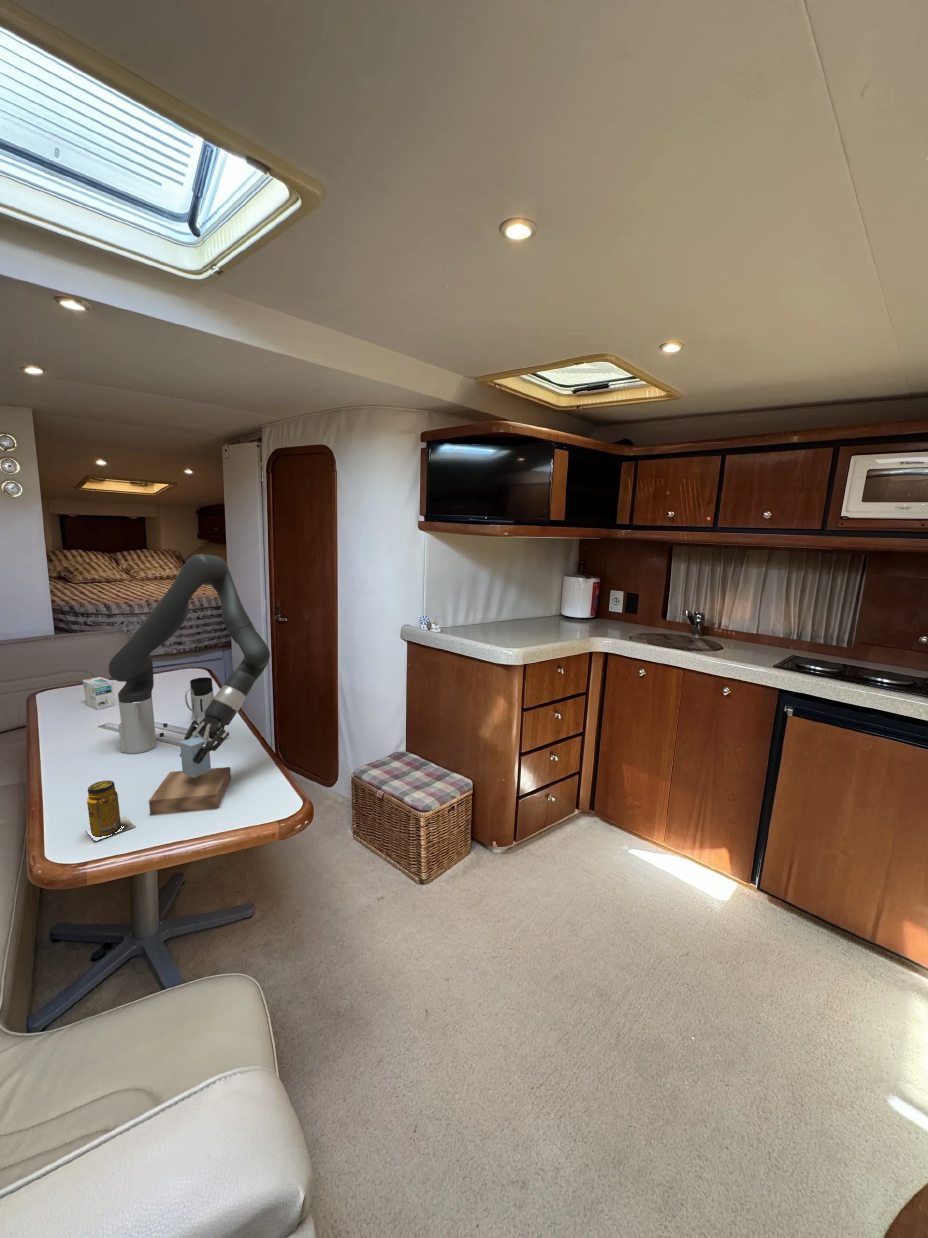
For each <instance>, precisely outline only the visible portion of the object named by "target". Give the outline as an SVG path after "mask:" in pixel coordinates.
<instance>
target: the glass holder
mask: <svg viewBox="0 0 928 1238" xmlns="http://www.w3.org/2000/svg"><path fill="white" fill-rule="evenodd" d="M189 683H190V684H189V686H190V688H188V689H186V691H185V693H184V701H185V704H186V705H185V706H186V707H187V709H188V710H189V711H191V714H192V715H191V721H192V720H193V721H194V720H196V721H197V722H201V720H203V719H204V718H205V714H204V712H205V710H206V709H207V707H208V706H209V704H210V703H211V701H212V700H213V698H214V697H215V695H214V687H213V679H212V677H207V676H206V677H204V676H203V677H197V678H192V679H190V681H189ZM189 692H190V704H191V706H190V705H189V703H188V693H189Z"/></svg>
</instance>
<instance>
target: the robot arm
mask: <svg viewBox="0 0 928 1238" xmlns="http://www.w3.org/2000/svg"><path fill="white" fill-rule="evenodd" d="M206 585H207V586H211V587H212V588H213V589H214V591H215V592H216V593H217V595H218V597H219V600H220V605H221V608H220V609H221V618H222V622H223V624H224V626H225V628H226V630H227V631H228V634H229V635H230V637H231V638H232V640H233V641H234V642H235V643H236V644H237V645H238V646H239V648H240V650H241V652H242V654H243V656H244V657H243V659H242V660H241V662H240V663H239V665H238V667H236V669H235V670H234V671H233V672H232V673H230V675H229V676H228V677H227V679H226V681H225V682H224V684H223V685H222V687H221V688H220V689H219V690H218V691H217V693H216V694H215V695H214V698H213V700H212V701H211V703H210V704H209V706H208V707H207V709H206V710H205V712H204V714H205V718H204V719H203V720H201V721H196V720H194V721H192V720H191V721H192V722H191V724H190V725H189V727H188V730H187V732H186V734H185V736H184V738H183V739H184V740H183V741H185V740H188V739H190V738H195V737H202V738H203V740H204V743H203V744H202V747H201V748H202V749H201V748H200V749H199V751H198V752H197V754H196V755H195V757H194V758H193V762H195V763H197V764H200V763H201V762H202V760H203V759H204V757H205V756H206V754H207V753H208V752H211V751H213V752H216V751H217V749H218V748H219V747H220V746H221V745H222V744H223V743H224V742H225V740H226V739H227V738H228V737H229V736H230V732H229V731H228V730H226V729H225V727H226V726H229V725H230V724H231V723H232V721H233V719H234V718H235V717H236V715H237V713H238V711H239V710H240V708H241V707H242V705H243V703H244V702H245V699H246V697H247V696H248V694H249V693H250V691H251V689H252V687H253V686H254V684H255V682H256V681H257V680H258V678H259V677H260V676H261V675H262V674H263V672H264V670H265V669H266V668H267V666H268V664H269V661H270V657H271V653H270V649H269V647H268V645H267V643H266V642H265V641H264V639H263V638H262V637H261V636H260V634H259V633H258V632H257V630H256V627H255V626H254V624H253V622H252V620H251V619H250V617H249V616H248V613H247V611H246V610H245V608H244V606H243V603H242V602H241V598H240V595H239V594H238V591H237V588H236V586H235V582H234V580H233V577H232V573H231V571H230V569H229V567H228V564H227V563H226V561H225V560H224V559H223V558H222V557H220V556H217V555H212V554H205V553H204V554H203V553H197V554H194V555H192V556H190V557H189V558H188V559H187V560H186V562H184V564H183V566H182V568H181V570H180V571H179V573H178V575H177V576H176V578H175V579H174V581H173V583H172V584H171V586H170V587H169V588H168V590H167V591H166V592H165V594H164V595H163V596H162V598H161V599H160V600H159V601H158V602H157V604H156V605H155V607H153V609H152V610H151V612H150V613H148V615H147V617H146V618H145V619H144V621H143V622H142V623H141V624H140V626H139V627H138V629H137V630H136V631H135V632H134V634H133V636H132V637H131V638H129V640H128V642H126V643H125V645H124V646H122V647H121V649H119V651H118V652H116V653H115V655H113V657H112V658H111V659H110V661H109V664H108V674H109V676H110V677H111V679H113V680H114V681H116V682H120V683H121V682H123V683H124V682H125V683H124V685H123V687H122V688H121V689H120V690H119V691H118V693H117V698H118V707H119V717H120V723H119V724H118V733H119V743H120V752H121V753H125V754H140V753H145V752H148V751H151V750H153V749H154V748H156V747H157V736H156V726H155V713H154V705H153V688H154V686H155V684H154V683H155V682H154V665H153V659H152V657H151V653H152V652H154V651H155V650H156V649H158V648H159V647H160V646H161V645H163V644H165V643H166V642H167V641H168V640H169V639H170V638H171V637H173V636H174V635H175V634H176V633H177V632H178V631H179V630H180V628H181V626H182V625H183V624H184V623H185V622H186V620H187V618H188V614H189V605H190V601H191V599H192V597H193V595H194V594H195V593H196V592H197V591H198V589H199V588H200V587H202V586H206ZM208 742H209V744H208V745H207V743H208ZM179 757H180V758H181V753H180V754H179Z"/></svg>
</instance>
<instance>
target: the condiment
mask: <svg viewBox="0 0 928 1238" xmlns="http://www.w3.org/2000/svg"><path fill="white" fill-rule="evenodd" d="M88 786H89V785H88ZM87 796H88V797H87V799H86V804H87V809H88V810H87V811H88V818H89V820H88V821H89V826H90V829H91V833H92V835H93V836H95V837H102V836H108V835H111V834H112V835H113V834H114V835H113V836H115V835H118V834H119V833H122V832H126V831H128V830H130V829H132V828H135V827H136V825H135V824H133V822H132V821H130V819H129V818H128V817H127V816H126V815H125V816H123V817H121V813H120V804H119V794H118V792H117V790H116V787H115V782H114V781H112V780H100V781H97V782H95V783H92V784H91V785H90V786H89V787H88V788H87ZM121 826H122V827H123V826H124V828H123V829H122V828H121ZM120 828H121V829H122V831H120V832H117V831H118V830H119V829H120ZM90 829H89V830H90ZM121 829H120V830H121ZM115 832H117V833H115Z"/></svg>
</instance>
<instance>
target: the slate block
mask: <svg viewBox="0 0 928 1238" xmlns="http://www.w3.org/2000/svg"><path fill="white" fill-rule="evenodd" d="M203 743H204V740H203V738H202V737H195V738H190V739H188V740H182V741H180V742H179V747H180V748H179V749H180V754H181V757H180V759H181V767H182V768H181V769H182V770H181V771H183V774H186V775H188V776H191V777H193V778H195V777H197V776H199V775H202V774H204V773H206V772H208V771H211V768H212V765H211V755H210V752H211V751H210V752H208V753H207V754H206V756H205V757H204V759H203V760H202V762H201V763H200V764H197V763H195V762H193V758H194V757H195V755H196V754H197V752H198V751H199V749H200V748H201V747H202V744H203ZM208 744H209V742H208V743H207V745H208ZM201 749H202V748H201Z"/></svg>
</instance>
